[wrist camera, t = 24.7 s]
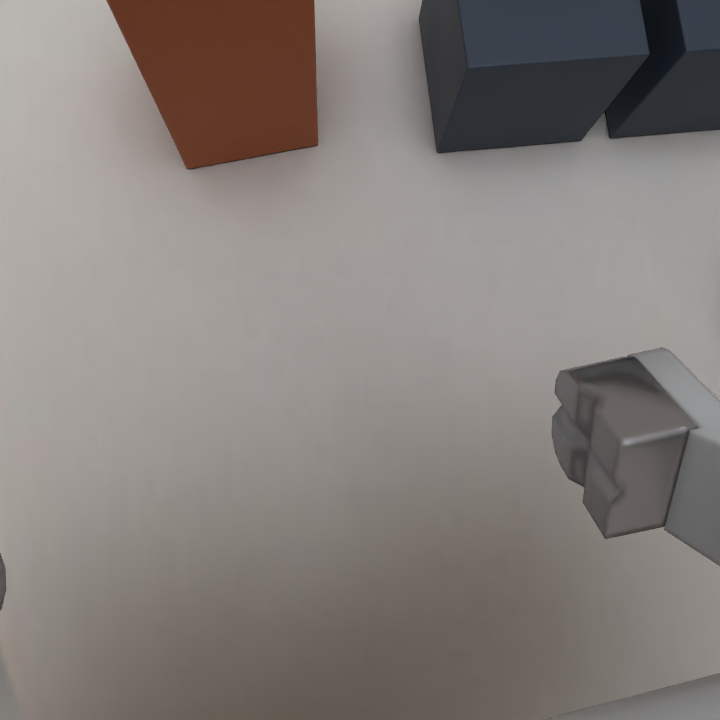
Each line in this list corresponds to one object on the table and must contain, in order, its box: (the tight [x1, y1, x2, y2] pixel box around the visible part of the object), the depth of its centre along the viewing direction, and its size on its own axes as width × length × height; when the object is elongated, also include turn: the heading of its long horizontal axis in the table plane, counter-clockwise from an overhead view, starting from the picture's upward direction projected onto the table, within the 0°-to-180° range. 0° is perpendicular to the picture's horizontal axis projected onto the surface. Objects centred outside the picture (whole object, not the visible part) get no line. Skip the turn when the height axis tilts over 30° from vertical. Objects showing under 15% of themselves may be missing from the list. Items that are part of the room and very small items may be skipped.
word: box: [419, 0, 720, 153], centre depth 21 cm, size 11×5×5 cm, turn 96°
